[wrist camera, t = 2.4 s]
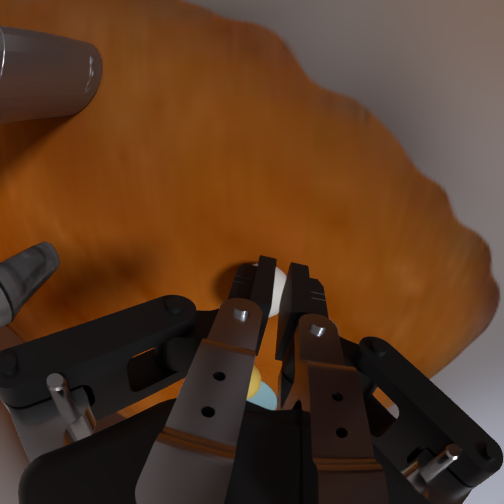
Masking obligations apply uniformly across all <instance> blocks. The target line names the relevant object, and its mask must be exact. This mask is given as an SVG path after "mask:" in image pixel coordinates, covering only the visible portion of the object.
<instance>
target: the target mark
mask: <svg viewBox="0 0 504 504" xmlns="http://www.w3.org/2000/svg"><path fill="white" fill-rule="evenodd" d="M247 401H249V402H252V403H254V404H256V405H259V406H261V407H264V408H266V409H269V410H275V408H276V405H277V398H276V395H275V393H274V391H273V390H272V389H271V388H270V387H269V386H268V385H267V384H266V383H264V382H263V381H261V386H260V388H259V390H258V392H257V393H256V394H255V395H254V396H253V397H252V398H250V399H248V400H247Z"/></svg>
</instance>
